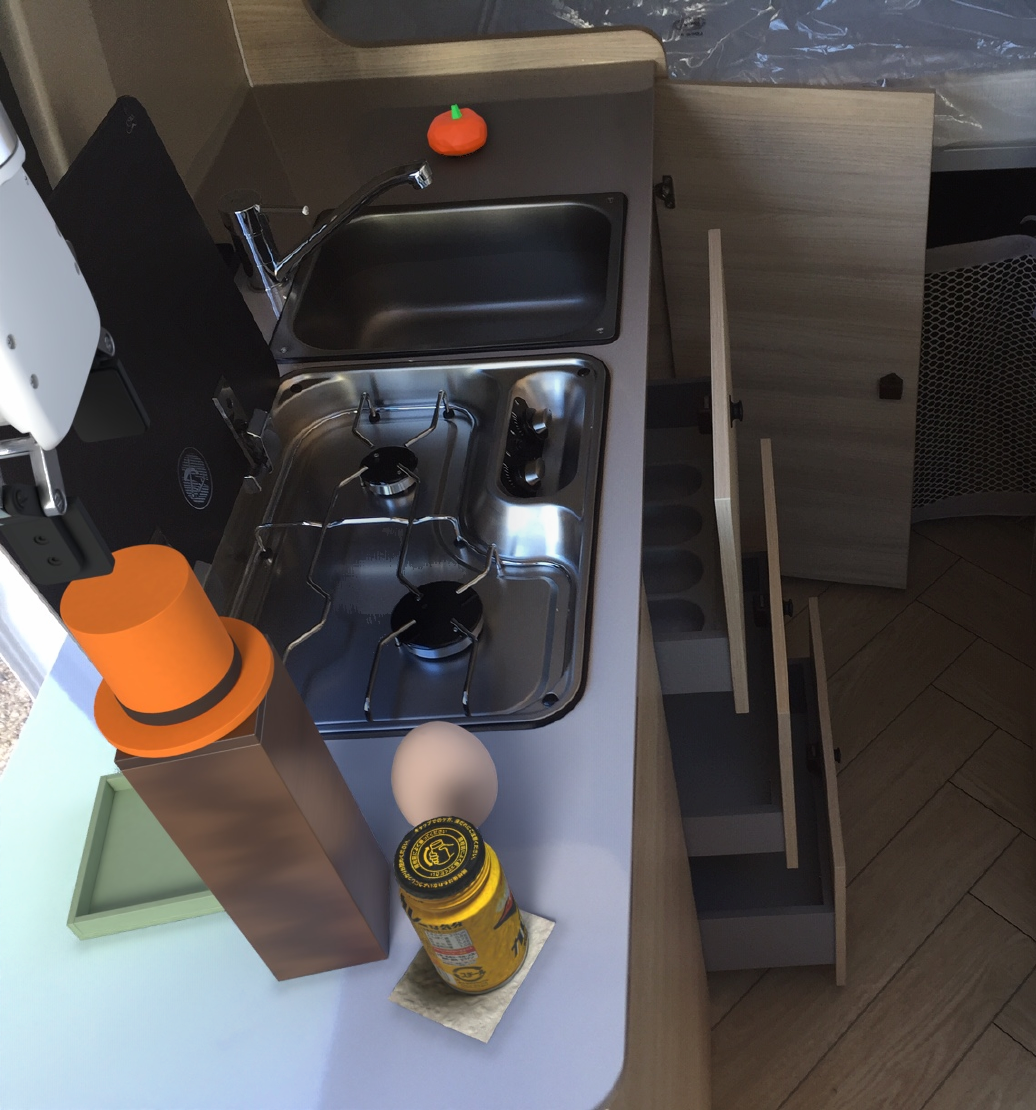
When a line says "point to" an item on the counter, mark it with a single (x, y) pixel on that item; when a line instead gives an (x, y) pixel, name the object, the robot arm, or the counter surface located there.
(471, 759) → the egg
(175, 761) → the stand
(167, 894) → the tray
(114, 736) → the hat
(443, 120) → the pumpkin
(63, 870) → the counter surface
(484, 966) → the condiment
